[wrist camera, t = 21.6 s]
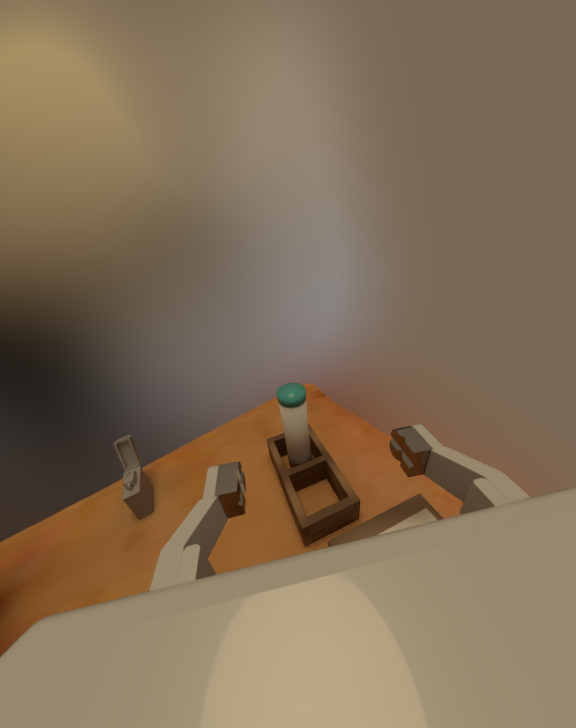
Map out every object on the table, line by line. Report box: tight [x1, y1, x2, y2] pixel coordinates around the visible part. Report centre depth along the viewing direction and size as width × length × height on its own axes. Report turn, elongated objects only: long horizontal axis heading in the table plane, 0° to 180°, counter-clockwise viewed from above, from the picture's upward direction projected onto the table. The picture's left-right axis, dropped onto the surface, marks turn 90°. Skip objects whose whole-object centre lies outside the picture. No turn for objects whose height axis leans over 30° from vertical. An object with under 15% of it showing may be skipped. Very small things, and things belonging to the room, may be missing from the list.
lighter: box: [114, 435, 154, 519], centre depth 29 cm, size 7×2×8 cm, turn 29°
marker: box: [277, 383, 312, 468], centre depth 28 cm, size 3×3×14 cm
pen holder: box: [267, 424, 360, 546], centre depth 29 cm, size 12×7×4 cm, turn 21°
